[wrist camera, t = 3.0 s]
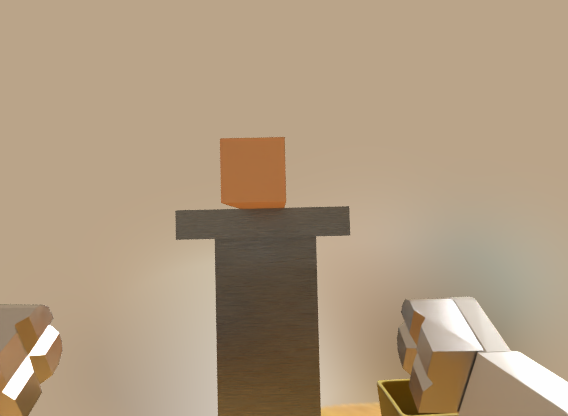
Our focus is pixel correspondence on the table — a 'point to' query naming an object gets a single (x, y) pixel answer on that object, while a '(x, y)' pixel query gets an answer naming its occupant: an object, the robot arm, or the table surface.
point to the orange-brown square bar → (253, 172)
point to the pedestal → (266, 304)
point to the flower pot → (400, 399)
